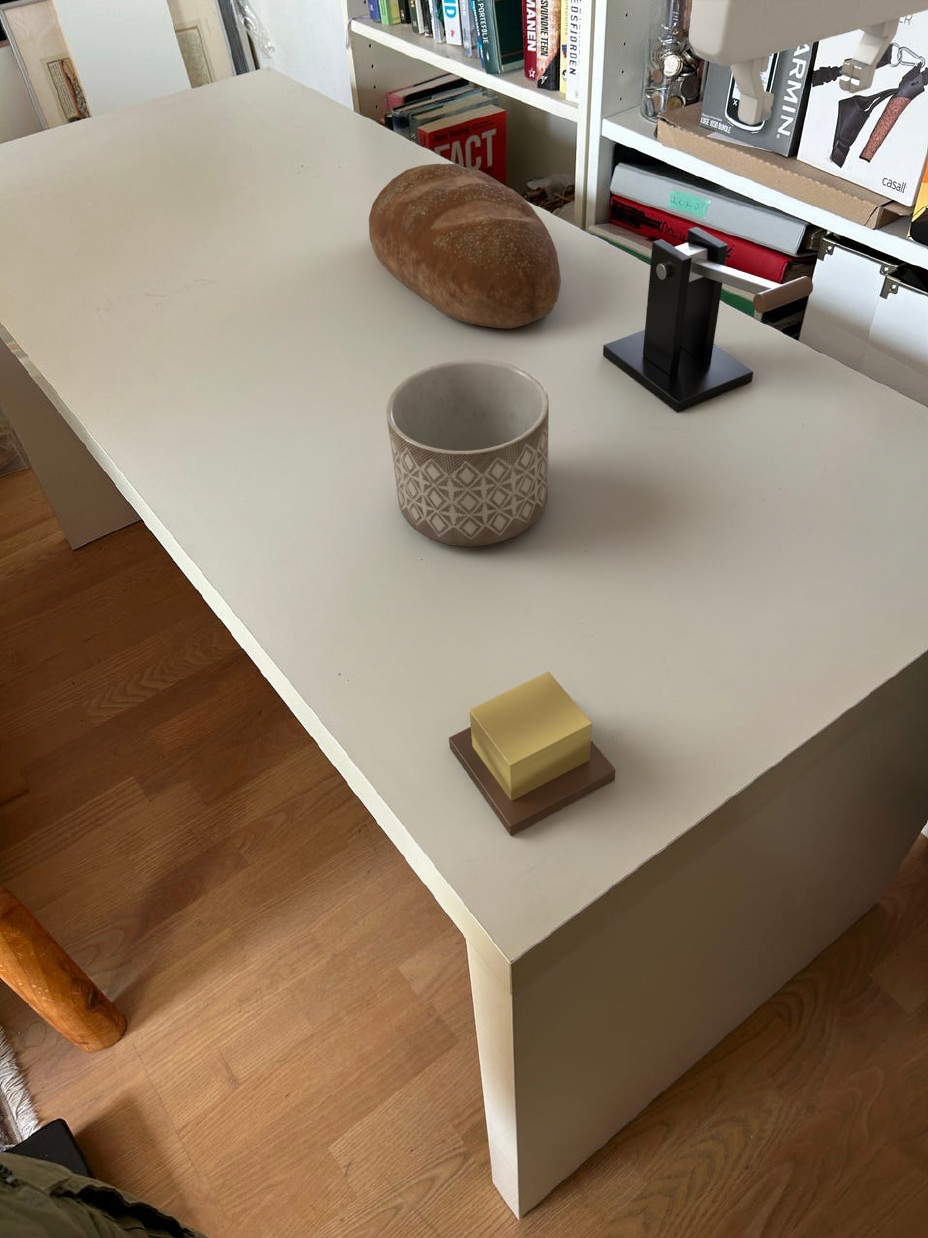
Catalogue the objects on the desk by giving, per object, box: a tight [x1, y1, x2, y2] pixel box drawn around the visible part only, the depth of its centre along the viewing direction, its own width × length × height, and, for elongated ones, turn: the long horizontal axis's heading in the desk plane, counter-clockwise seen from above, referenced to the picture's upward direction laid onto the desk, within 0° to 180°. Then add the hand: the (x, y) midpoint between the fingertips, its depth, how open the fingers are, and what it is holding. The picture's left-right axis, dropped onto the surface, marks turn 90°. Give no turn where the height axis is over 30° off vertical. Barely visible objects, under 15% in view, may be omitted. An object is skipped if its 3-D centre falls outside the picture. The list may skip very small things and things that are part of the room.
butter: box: [448, 671, 617, 837], centre depth 62 cm, size 8×8×5 cm
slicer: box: [602, 226, 755, 413], centre depth 90 cm, size 12×9×13 cm
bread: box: [368, 163, 562, 330], centre depth 106 cm, size 16×29×11 cm, turn 32°
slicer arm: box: [674, 242, 814, 314], centre depth 83 cm, size 14×5×2 cm, turn 30°
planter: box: [385, 358, 550, 547], centre depth 79 cm, size 13×13×10 cm
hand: (804, 104), depth 69 cm, fingers open, 8 cm apart
